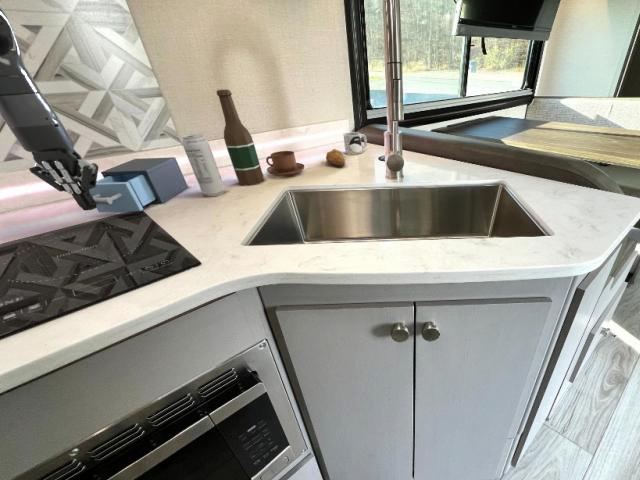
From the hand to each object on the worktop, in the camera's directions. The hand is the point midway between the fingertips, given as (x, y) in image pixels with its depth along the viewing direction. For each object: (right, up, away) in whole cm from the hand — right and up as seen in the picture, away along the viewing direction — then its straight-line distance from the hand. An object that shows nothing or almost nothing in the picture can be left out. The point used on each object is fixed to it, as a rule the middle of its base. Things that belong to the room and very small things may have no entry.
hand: (90, 209), depth 71 cm
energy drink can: (+17, +10, +19) cm, 27 cm away
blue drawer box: (0, +9, +19) cm, 22 cm away
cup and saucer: (+32, +21, +34) cm, 51 cm away
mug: (+53, +39, +56) cm, 86 cm away
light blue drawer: (0, +4, +10) cm, 11 cm away
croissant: (+47, +28, +42) cm, 69 cm away
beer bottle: (+24, +16, +27) cm, 40 cm away
